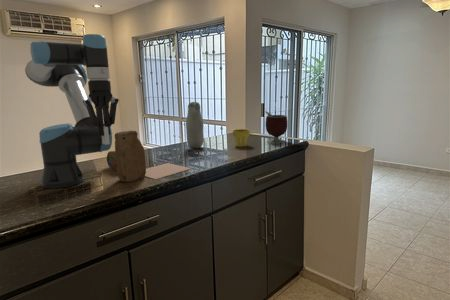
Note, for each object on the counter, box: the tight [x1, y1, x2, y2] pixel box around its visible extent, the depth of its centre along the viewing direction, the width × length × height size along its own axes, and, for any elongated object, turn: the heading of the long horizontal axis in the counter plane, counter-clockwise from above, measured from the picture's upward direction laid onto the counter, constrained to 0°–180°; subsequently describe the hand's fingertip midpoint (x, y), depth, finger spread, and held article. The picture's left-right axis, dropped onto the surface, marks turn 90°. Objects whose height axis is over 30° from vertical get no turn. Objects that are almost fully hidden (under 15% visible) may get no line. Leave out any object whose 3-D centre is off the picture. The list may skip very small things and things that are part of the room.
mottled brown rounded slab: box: [106, 150, 117, 171], centre depth 141 cm, size 15×3×8 cm, turn 49°
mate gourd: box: [264, 110, 288, 145], centre depth 196 cm, size 16×14×20 cm
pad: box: [144, 162, 192, 181], centre depth 136 cm, size 20×17×1 cm
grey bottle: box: [185, 101, 205, 149], centre depth 183 cm, size 10×10×28 cm
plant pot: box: [232, 128, 250, 148], centre depth 188 cm, size 10×10×10 cm
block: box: [114, 130, 147, 183], centre depth 123 cm, size 11×8×20 cm
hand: (106, 143), depth 114 cm, fingers closed
